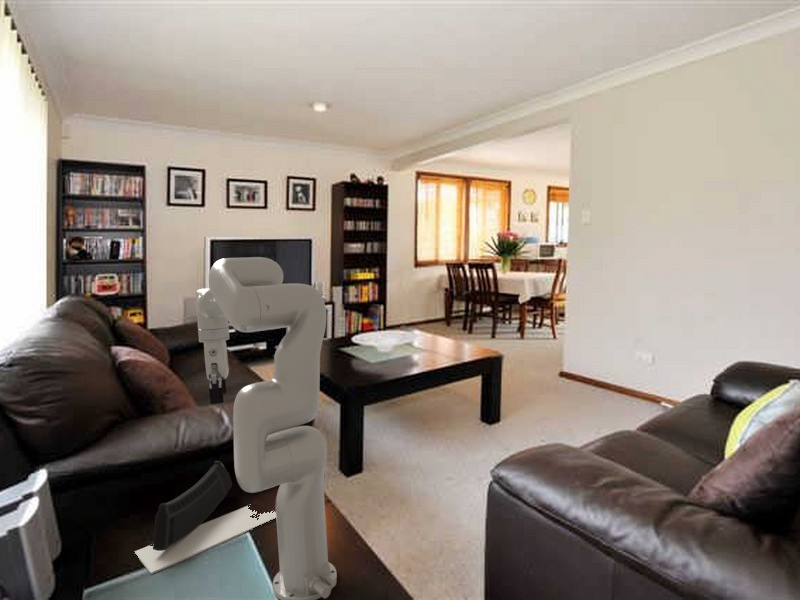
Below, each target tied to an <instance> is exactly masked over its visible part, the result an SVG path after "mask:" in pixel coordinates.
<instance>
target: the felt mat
mask: <svg viewBox="0 0 800 600" xmlns="http://www.w3.org/2000/svg"><path fill="white" fill-rule="evenodd" d="M249 507H250V506H249ZM249 507H248V505H246V506H244V507H241V508H239V509H237V510H234V511H231V512H229V513H225V514H223V515H221V516H219V517H216V518H214V519H211V520H209V521H206V522H204V523H201V524H200V525H199V526H198V527H197V528H195V529H194V530H193V531H192V532H190V533H189V534H188V535H186V536H185V537H183V538H182V539H180V540H179V541H177V542H176V543H174V544H173V545H171V546H170V547H168V548H167V549H166V550H163V551H156V550H153V546H150V545H151V544H150V545H147V546H145V547H143V548H140V549H137V550H134V552H135V553H134V555H135V554H136V555H137V556H138V557H137V556H136V555H135V556H136V557H137V558H139V559H138V560H139V562H140V563H141V564H142V565H143V566H144V567H145V568H146V570H147V571H148V573H149V574H150V575H153V574H156V573H157V572H160V571H163V570H164V569H166V568H169V567H171V566H173V565H176V564H178V563H180V562H182V561H185V560H186V559H187V560H188V559H189V558H191V557H194V556H196V555H198V554H200V553H203V552H205V551H207V550H209V549H212V548H214V547H216V546H219V545H221V544H223V543H225V542H227V541H230V540H233V539H234V538H236V537H239V536H241V535H243V534H246V533H248V532H250V531H252V530H254V529H253V528H255V527H257V526H259V525H261V526H263V525H262V524H264V523H266V522H268V523H270V522H271V521H270V520H273V519H275V518H276V510H273V511H274V512H273V511H271V512H270V513H269V512H267V513H265V512H264V513H263V514H261V513H260V514H258V515H260V516H259V517H257V518H259V519H258V520H257V518H255V517H256V516H255V515H256V514H257V511H256V512H255V510H254V511H253V512H252V510H250V509H248V508H249ZM272 512H273V513H272ZM253 514H255V515H253ZM252 515H253V516H255V517H254V518H252V517H250V516H252ZM258 515H257V516H258ZM275 520H276V519H275ZM269 521H270V522H269ZM273 521H274V520H273ZM266 524H267V523H266ZM264 525H265V524H264ZM259 527H260V526H259ZM257 528H258V527H257ZM255 529H256V528H255ZM249 530H250V531H249ZM247 531H248V532H247ZM245 532H246V533H245Z"/></svg>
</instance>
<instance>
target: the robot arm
mask: <svg viewBox="0 0 800 600" xmlns="http://www.w3.org/2000/svg"><path fill="white" fill-rule="evenodd" d="M209 270H210V271H209V273H208V287H206V288H200V289H197V291H196V293H195V306H196V317H197V333H198V342H199V343H203V348H204V349H203V350H204V351H203V352H204V353H203V354H204V363H205V373H206V379H207V380H208V381H209V389H208V390H209V391H208V392H209V404H210V405H216V404H223V403H224V402H225V401H224V400H225V398H224V394H227V383H226V379H228V377H229V374H230V373H229V372H230V369H229V368H230V367H229V358H228V357H229V356H228V347H227V342H226V341H228V340H230V329H229V325H231V326H232V327H233V328H234V329H235V330H236V331H238V332H241V333H255V332H261V331H269V330H277V329H281V328H282V329H284V328H285V329H286V328H289V330H288V332H286V334H284V336H283V337H282V339H281V340H280V342H279V344H278V345H277V347H276V350H275V353H274V355H273V356H274V357H273V362H274V363H273V364H274V365H273V366H274V369H273V377H272V378H271V379H269V380H263V381H260V382H255V383H251V384H247V385H246V386H243V387H242V388H241V389H240V390H239V391H238V392H237V394H236V396H235V399H234V403H233V410H232V411H233V414H232V417H233V418H232V420H233V423H232V424H233V461H234V462H233V463H234V464H233V465H234V466H233V467H234V473H235V478H236V481H237V483H238V486H239V487H240V489H242V490H243V491H244V492H247V493H251V494H253V493H258V492H263V491H265V490H268V489H271V488H274V487H278V486H279V487H278V490H277V494H276V497H275V512H276V519H275V520H276V532H277V536H276V537H277V547H278V561H279V564H278V565H279V571H278V572H276V575H275V576H274V578H273V581H272V591H273V594H274V595H275V597H276V598H277V599H279V600H319V599H321V598H323V599H327V598H328V597H329V596H330V595H331V593H332V590H333V588H334V587H335V586H336V585H337V581H338V580H337V578H338V576H337V575H338V574H337V569H336V567H335V565H333V564H332V563H331V562H329V555H328V537H327V523H326V522H327V521H326V508H325V506H326V504H325V469H326V461H327V454H328V453H327V442H326V439H325V437H324V435H323V433H322V432H321V431H320V429H318V428H316V427H315V426H310V425H304V424H307V423H310V422H311V421H313V420H314V419H315V418H316V417H317V415H318V412H319V407H320V406H319V405H320V390H321V389H320V387H321V385H320V382H321V381H320V380H321V377H320V376H321V363H320V362H321V351H322V345H323V340H324V336H325V333H326V326H327V309H326V308H327V307H326V304H325V301H324V298H323V296H322V294H321V292H320V291H319V290H318V289H317V288H316V287H314V286H312V285H309V284H305V283H297V282H296V283H283V282H284V271H283V270H282V267H281V265H279V264H278V262H277V261H275V260H273V259H271V258H268V257H262V256H253V257H252V256H251V257H250V256H249V257H226V258H224V257H223V258H221V259H218V260H216V261H215V262H214V263H213V265H212V266H211V268H210V269H209Z"/></svg>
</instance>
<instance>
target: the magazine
mask: <svg viewBox="0 0 800 600" xmlns="http://www.w3.org/2000/svg"><path fill="white" fill-rule="evenodd" d="M232 486H233V483H232V479H231V476H230V472H228V471H227V469H226V466H224V464H223V462H221V461H220V460H215V461H214V462H213V465H212V466H211V467H210V468H209V469H208V471H207V472H206V473H205V474H204V475H203V476H202V477H201V478H200V479H199V480H198V482H196V483H195V484H194V485H192V487H190V488H189V489H187V490H186V491H185V492H183V493H182V494H180V495H179V496H177V497H175V498H174V499H172V500H170V501H168V502H165V503H164V502H162V503H160V504H159V505H158V511H157V512H156V514H155V516H154V517H155V519H154V531H153V540H152V541H153V543H152V544H153V550H156V551H163V550H166V549H167V548H168V547H170V546H171V545H173V544H174V543H176V542H177V541H179V540H180V539H182V538H183V537H185V536H186V535H188V534H189V533H190V532H192V531H193V530H194V529H195V528H197V527H198V526H199V525H201V524H203V522H205V521H206V519H208V518H209V517H210V515H211V514H212V513H213V512H214V511H215V510H216V508H217V507H218V506H219V504H221V502H222V501H224V500H225V499H224V498H225V497H226V496H227V495H228V493H229V491H230V489H231V488H232Z"/></svg>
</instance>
